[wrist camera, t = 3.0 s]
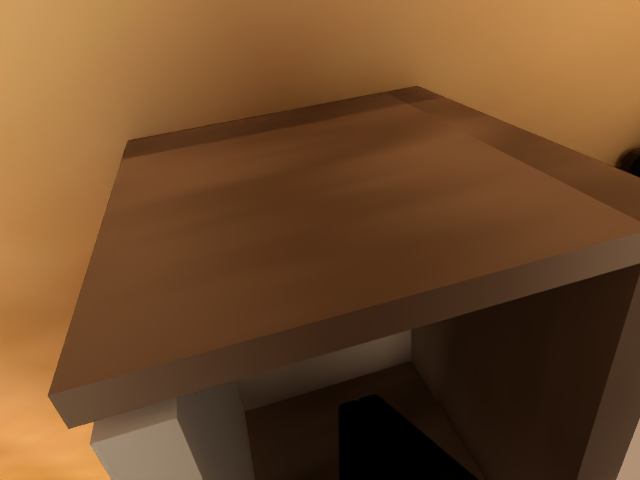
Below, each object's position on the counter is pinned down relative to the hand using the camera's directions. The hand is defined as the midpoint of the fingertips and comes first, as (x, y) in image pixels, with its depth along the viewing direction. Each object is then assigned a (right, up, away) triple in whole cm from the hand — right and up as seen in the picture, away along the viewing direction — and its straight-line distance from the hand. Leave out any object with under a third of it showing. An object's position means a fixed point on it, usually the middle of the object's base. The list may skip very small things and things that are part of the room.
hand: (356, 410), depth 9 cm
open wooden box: (-1, +3, +5) cm, 6 cm away
